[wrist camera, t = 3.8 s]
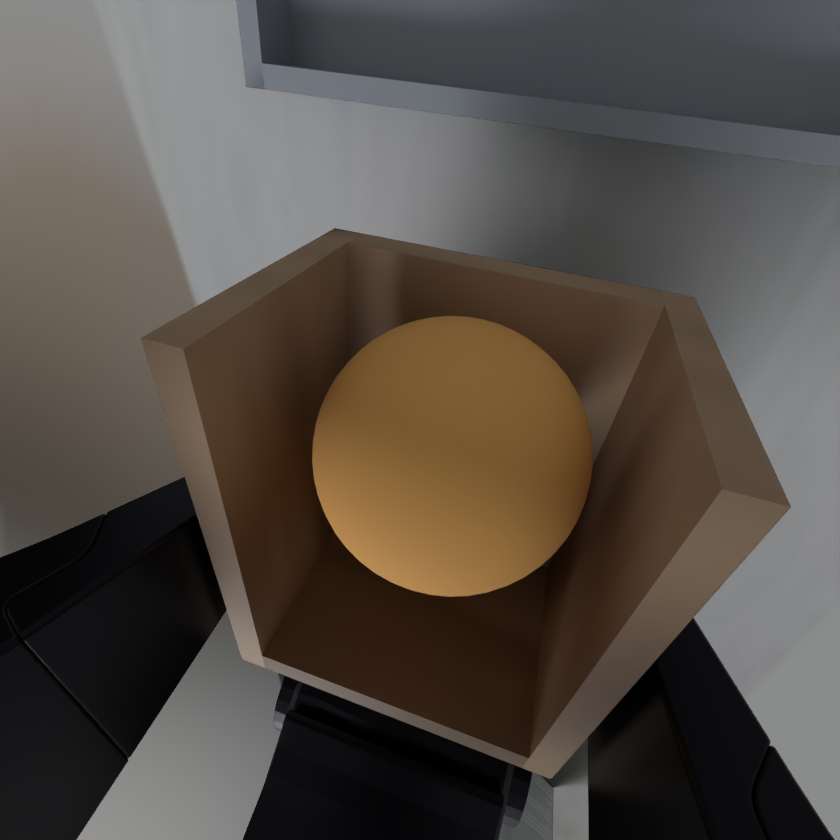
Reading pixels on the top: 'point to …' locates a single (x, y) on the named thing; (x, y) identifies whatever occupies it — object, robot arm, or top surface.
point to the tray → (572, 65)
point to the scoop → (502, 608)
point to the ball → (452, 456)
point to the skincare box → (534, 814)
